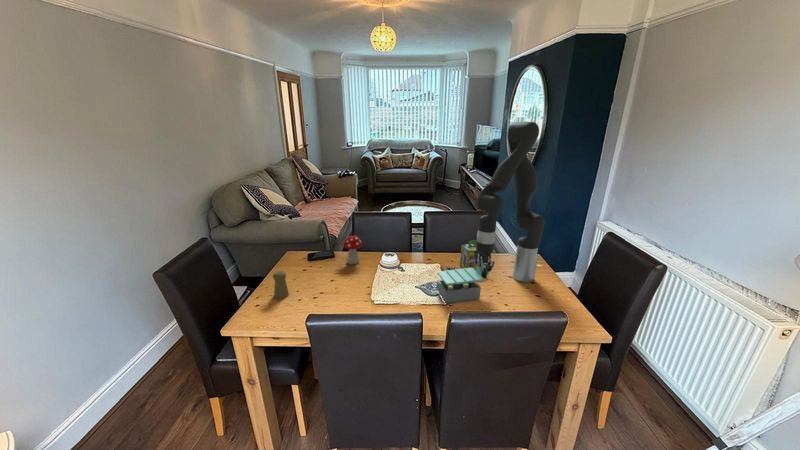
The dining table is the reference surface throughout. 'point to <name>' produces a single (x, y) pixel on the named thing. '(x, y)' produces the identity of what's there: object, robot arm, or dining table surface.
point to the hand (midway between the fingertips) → (481, 276)
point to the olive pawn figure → (280, 285)
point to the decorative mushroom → (352, 249)
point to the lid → (461, 275)
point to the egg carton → (449, 268)
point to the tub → (458, 292)
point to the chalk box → (468, 255)
